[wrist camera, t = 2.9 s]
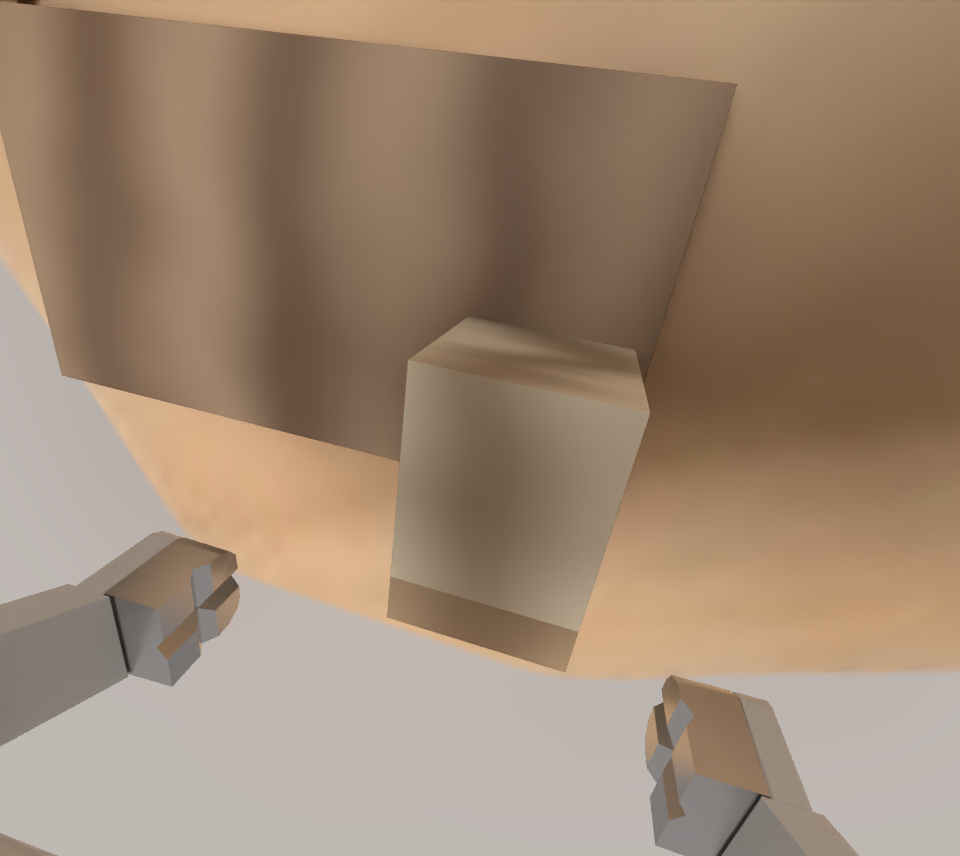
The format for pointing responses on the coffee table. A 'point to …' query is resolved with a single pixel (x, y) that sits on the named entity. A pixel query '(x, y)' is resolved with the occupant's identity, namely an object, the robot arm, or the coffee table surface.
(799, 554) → the coffee table surface
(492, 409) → the block
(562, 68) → the board
